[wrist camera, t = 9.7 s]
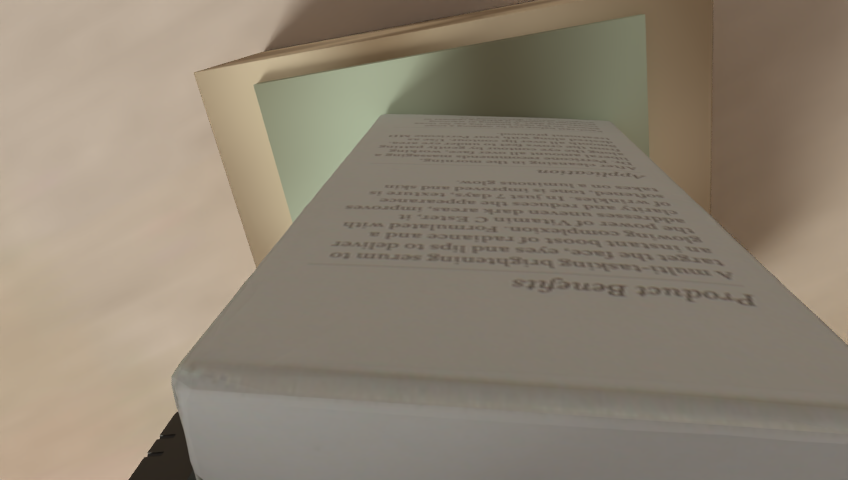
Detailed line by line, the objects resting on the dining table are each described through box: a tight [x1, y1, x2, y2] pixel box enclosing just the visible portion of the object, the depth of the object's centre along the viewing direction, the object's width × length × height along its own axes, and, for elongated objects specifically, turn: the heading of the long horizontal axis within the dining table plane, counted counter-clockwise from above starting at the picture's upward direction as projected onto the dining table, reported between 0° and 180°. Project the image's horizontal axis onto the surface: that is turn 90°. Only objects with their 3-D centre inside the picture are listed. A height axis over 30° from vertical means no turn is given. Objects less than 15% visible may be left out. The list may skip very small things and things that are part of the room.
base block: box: [194, 0, 713, 268], centre depth 18 cm, size 12×12×5 cm
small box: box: [172, 114, 848, 480], centre depth 10 cm, size 8×6×10 cm
